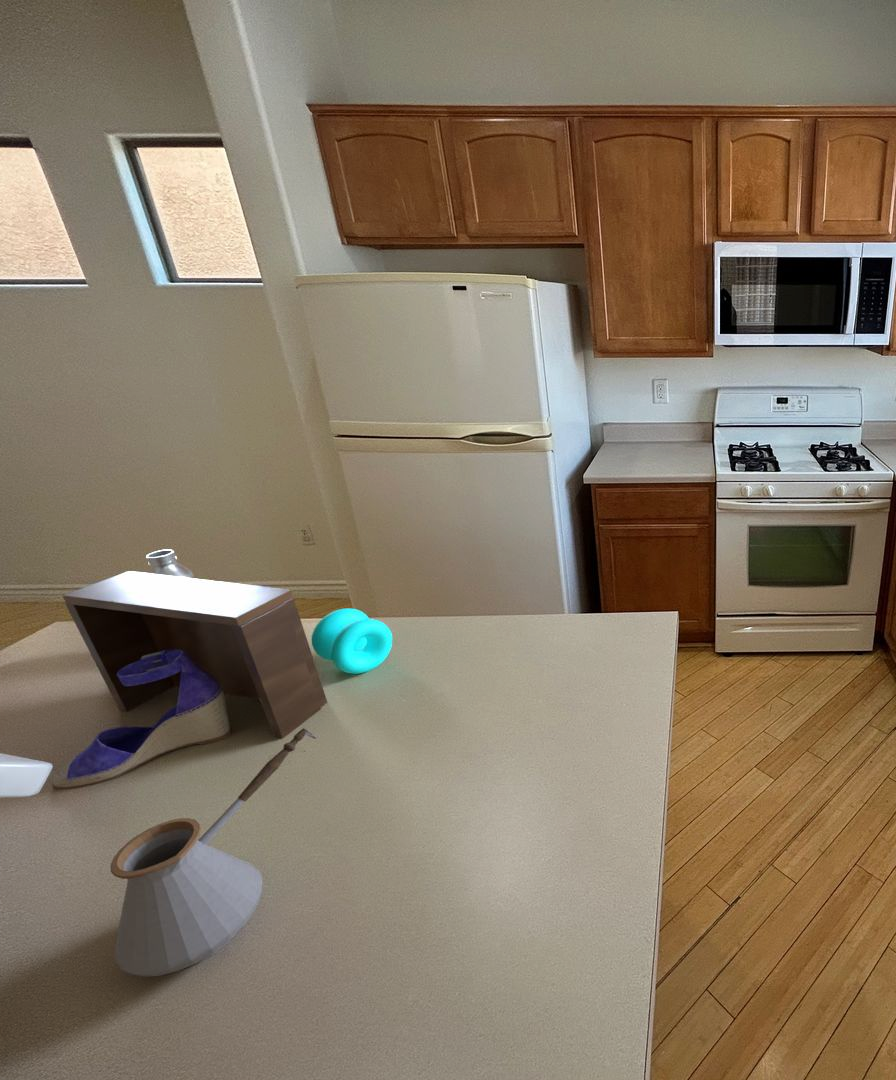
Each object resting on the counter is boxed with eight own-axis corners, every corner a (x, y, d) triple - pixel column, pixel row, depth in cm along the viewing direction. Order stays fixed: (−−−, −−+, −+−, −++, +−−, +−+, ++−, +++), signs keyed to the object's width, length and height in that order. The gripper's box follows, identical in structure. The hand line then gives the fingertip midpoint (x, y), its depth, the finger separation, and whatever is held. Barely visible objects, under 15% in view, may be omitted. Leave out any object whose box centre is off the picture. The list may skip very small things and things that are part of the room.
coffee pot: (170, 1012, 52) (103, 906, 46) (100, 964, 55) (30, 860, 50) (373, 829, 70) (344, 737, 64) (311, 802, 74) (278, 712, 68)
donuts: (344, 686, 96) (329, 637, 93) (316, 667, 101) (301, 620, 98) (400, 658, 104) (389, 612, 100) (372, 642, 109) (360, 598, 105)
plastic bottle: (175, 661, 102) (133, 564, 95) (176, 646, 107) (136, 552, 99) (221, 649, 106) (183, 554, 99) (220, 634, 111) (184, 543, 103)
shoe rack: (119, 710, 90) (60, 595, 82) (176, 678, 98) (127, 570, 90) (282, 738, 85) (237, 618, 76) (329, 702, 92) (292, 589, 84)
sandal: (76, 755, 81) (29, 670, 75) (243, 720, 88) (211, 640, 83) (40, 796, 74) (-15, 707, 68) (224, 754, 81) (188, 670, 76)
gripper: (-40, 748, 56) (114, 753, 68) (-182, 720, 59) (-10, 729, 72) (-82, 817, 53) (86, 808, 66) (-227, 784, 57) (-41, 782, 70)
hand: (35, 767), depth 69 cm, fingers closed
